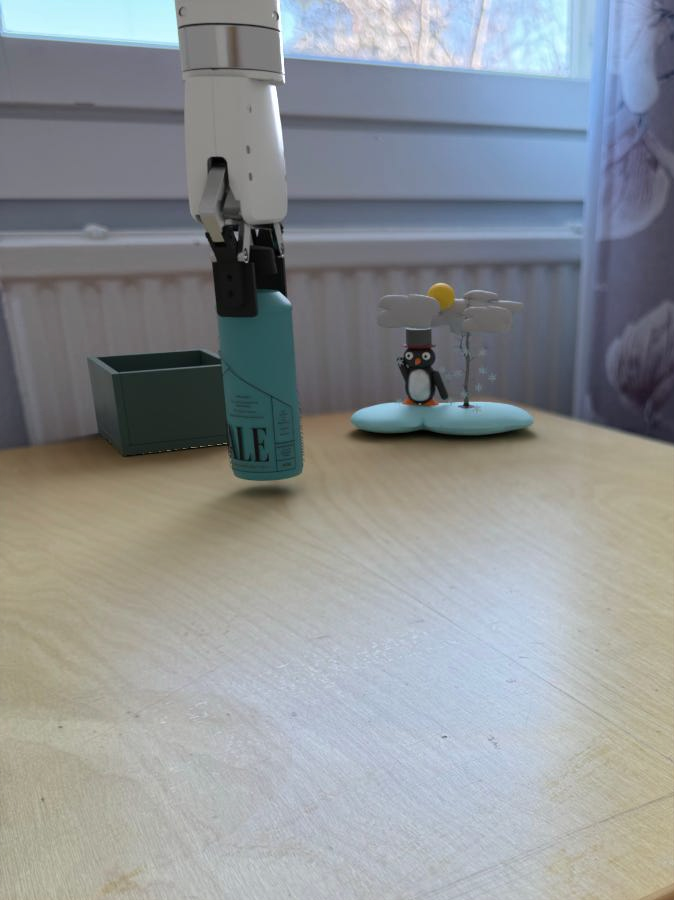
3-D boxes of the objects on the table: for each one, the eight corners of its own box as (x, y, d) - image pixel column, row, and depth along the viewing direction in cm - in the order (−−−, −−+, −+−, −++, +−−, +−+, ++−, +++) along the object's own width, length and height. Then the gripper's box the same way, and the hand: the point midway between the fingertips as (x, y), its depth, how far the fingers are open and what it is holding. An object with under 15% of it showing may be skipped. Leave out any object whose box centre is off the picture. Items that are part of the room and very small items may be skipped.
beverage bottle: (310, 478, 91) (294, 243, 83) (302, 498, 85) (285, 247, 77) (237, 479, 91) (215, 243, 82) (225, 499, 85) (199, 246, 76)
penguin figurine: (344, 439, 105) (336, 288, 99) (360, 418, 115) (354, 279, 109) (533, 442, 105) (537, 290, 98) (533, 421, 114) (537, 281, 108)
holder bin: (123, 456, 98) (111, 374, 95) (98, 432, 108) (86, 356, 105) (247, 442, 104) (240, 364, 101) (212, 420, 114) (205, 348, 111)
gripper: (227, 74, 83) (247, 300, 90) (132, 46, 67) (165, 323, 74) (314, 73, 82) (327, 302, 89) (239, 44, 66) (262, 325, 73)
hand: (253, 309), depth 82 cm, fingers closed on beverage bottle, 6 cm apart
